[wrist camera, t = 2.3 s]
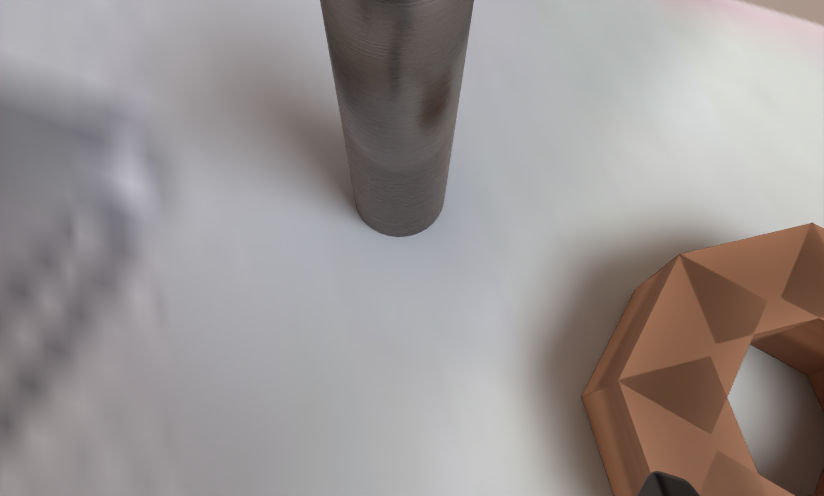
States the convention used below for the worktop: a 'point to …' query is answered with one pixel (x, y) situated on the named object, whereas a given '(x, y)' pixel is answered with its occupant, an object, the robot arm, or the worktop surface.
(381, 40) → the brushed steel cylinder
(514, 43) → the worktop surface
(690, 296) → the bead
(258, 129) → the worktop surface
